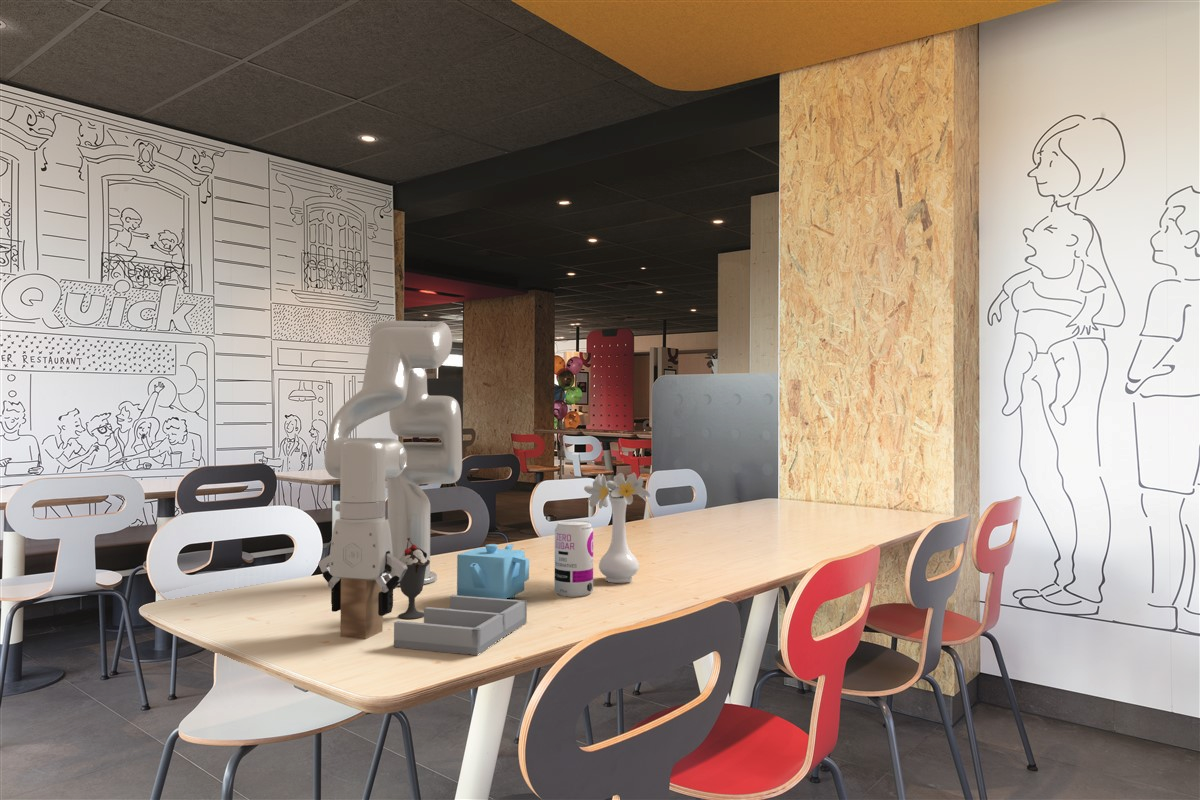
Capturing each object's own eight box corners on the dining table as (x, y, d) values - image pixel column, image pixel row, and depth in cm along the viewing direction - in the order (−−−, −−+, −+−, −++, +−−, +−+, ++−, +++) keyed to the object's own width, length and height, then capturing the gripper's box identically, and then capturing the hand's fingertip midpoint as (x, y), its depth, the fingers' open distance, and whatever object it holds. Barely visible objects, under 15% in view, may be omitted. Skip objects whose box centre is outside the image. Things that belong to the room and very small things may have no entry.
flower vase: (608, 570, 186) (608, 468, 187) (664, 582, 173) (664, 472, 173) (568, 578, 178) (568, 470, 178) (623, 591, 164) (623, 475, 165)
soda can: (594, 589, 166) (595, 520, 166) (590, 598, 158) (590, 525, 158) (558, 588, 167) (558, 519, 167) (551, 597, 159) (552, 525, 159)
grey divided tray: (393, 646, 124) (394, 622, 124) (452, 616, 143) (452, 595, 143) (477, 655, 119) (477, 629, 120) (526, 622, 139) (526, 600, 139)
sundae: (398, 622, 139) (398, 539, 139) (390, 614, 145) (390, 534, 145) (433, 618, 142) (434, 537, 142) (424, 610, 148) (425, 532, 148)
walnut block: (340, 636, 130) (340, 571, 130) (357, 628, 134) (358, 566, 135) (365, 639, 128) (366, 573, 129) (382, 631, 133) (383, 568, 133)
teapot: (436, 605, 151) (437, 548, 151) (481, 587, 168) (481, 535, 168) (508, 613, 146) (508, 554, 146) (546, 592, 163) (547, 539, 163)
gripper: (306, 512, 131) (305, 613, 130) (394, 516, 126) (393, 621, 125) (333, 507, 138) (332, 603, 138) (418, 511, 133) (417, 610, 132)
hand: (361, 611), depth 131 cm, fingers open, 8 cm apart
